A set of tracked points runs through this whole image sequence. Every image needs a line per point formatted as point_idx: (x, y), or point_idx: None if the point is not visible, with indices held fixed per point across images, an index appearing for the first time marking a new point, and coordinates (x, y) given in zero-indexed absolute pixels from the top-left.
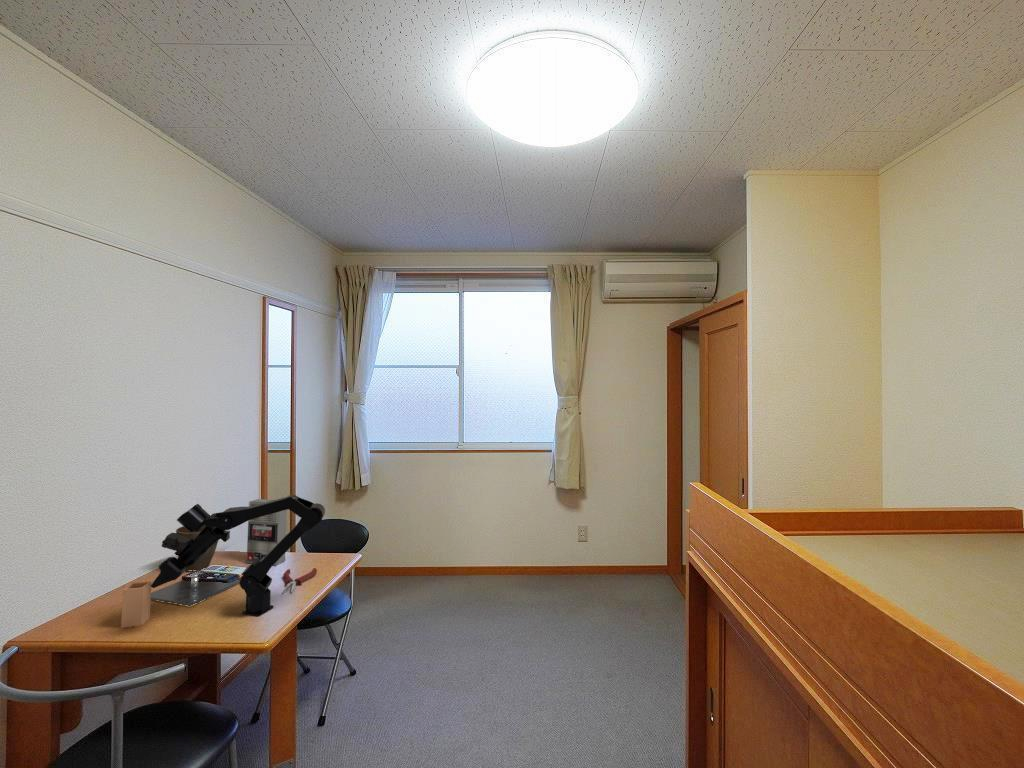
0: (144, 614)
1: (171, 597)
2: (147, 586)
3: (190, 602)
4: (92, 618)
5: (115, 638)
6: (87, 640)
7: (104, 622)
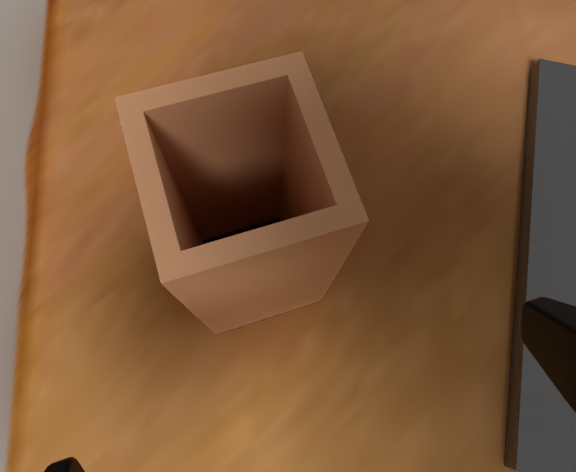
0: (246, 316)
1: (571, 240)
2: (274, 255)
3: (540, 449)
4: (283, 7)
5: (57, 307)
6: (44, 172)
7: None
